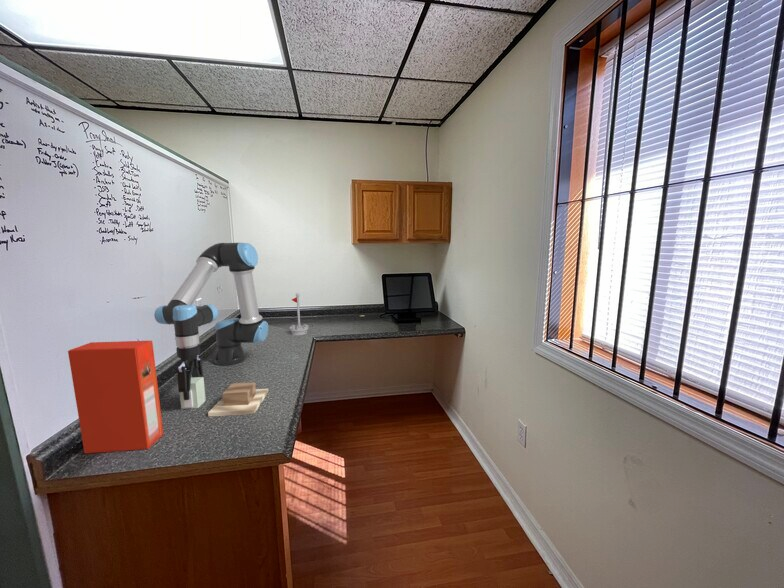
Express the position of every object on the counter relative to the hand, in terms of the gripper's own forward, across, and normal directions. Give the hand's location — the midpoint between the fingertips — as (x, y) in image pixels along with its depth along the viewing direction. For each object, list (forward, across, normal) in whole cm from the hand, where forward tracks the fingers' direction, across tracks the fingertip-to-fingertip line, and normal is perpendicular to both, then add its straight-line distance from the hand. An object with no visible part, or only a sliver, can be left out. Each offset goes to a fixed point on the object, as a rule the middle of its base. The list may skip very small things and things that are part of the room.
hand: (193, 402), depth 119 cm
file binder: (+1, +24, -8) cm, 25 cm away
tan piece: (+1, +1, +18) cm, 18 cm away
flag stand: (+1, -105, +21) cm, 107 cm away
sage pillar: (+1, 0, 0) cm, 1 cm away
